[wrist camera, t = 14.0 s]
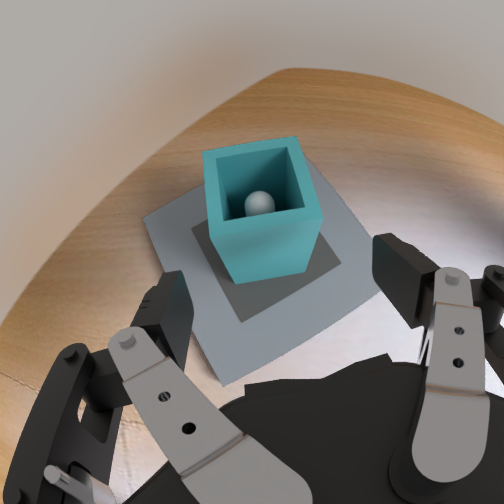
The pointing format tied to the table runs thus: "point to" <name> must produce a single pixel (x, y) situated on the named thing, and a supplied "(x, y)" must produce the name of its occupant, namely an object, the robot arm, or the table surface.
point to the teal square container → (266, 225)
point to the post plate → (263, 291)
